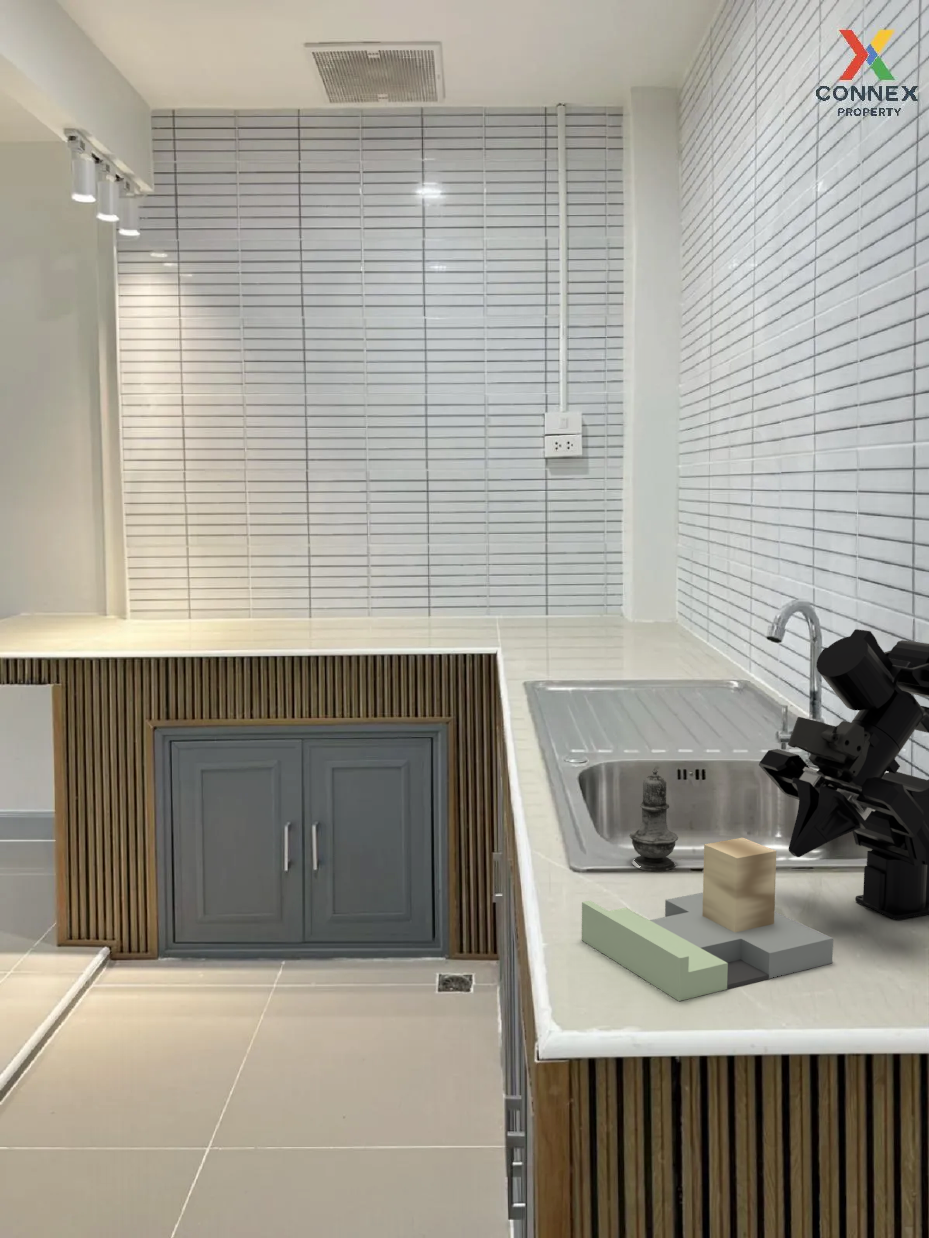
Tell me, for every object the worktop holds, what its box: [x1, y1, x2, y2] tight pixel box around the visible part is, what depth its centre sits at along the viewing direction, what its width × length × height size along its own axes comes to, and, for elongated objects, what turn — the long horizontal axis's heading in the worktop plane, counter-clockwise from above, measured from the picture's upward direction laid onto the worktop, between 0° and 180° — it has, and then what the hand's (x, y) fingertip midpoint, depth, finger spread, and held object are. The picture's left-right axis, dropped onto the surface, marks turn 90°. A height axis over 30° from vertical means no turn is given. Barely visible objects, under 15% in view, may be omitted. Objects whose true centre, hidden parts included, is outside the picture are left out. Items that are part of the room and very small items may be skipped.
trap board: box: [581, 891, 834, 1002], centre depth 116 cm, size 18×16×4 cm
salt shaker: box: [629, 767, 679, 872], centre depth 142 cm, size 6×6×12 cm
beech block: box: [702, 837, 777, 932], centre depth 117 cm, size 5×5×8 cm
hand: (793, 853), depth 120 cm, fingers closed
